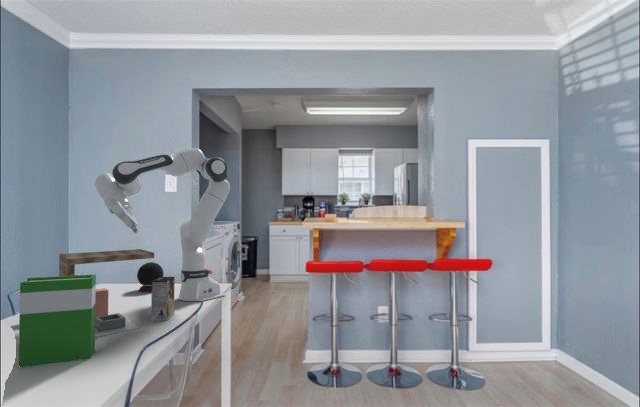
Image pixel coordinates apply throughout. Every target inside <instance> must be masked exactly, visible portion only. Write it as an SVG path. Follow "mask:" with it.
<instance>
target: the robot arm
mask: <svg viewBox="0 0 640 407" xmlns="http://www.w3.org/2000/svg"><path fill="white" fill-rule="evenodd" d="M156 170H157V171H158V170H161V171H165V172H166V174H168V175H169V176H171V177H174V178H175V177H181V176H184V175H186V174H188V173H192V172H194V171H195V172H197V173H198V175H199V176H200V177H201V178H202V179H203V180H205V181H208V186H207V188H206V189H205V191H204V193H203V194H202V196H201V197H200V199H199V200H198V203H196V206H195V209H194V212H193V214H192V216H191V219H187V220H185V221H184V222H183V223H182V224H181V225H180V228H179V231H180V246H181V253H182V255H181V256H182V258H181V260H182V261H181V262H182V268H181V271H180V282H181V283H180V284H181V286H180V291H179V295H178V297H177V298H178V300H180V301H186V302H203V301H204V302H205V301H208V300H212V299H216V298H217V299H218V298H222V297H225V295H226V294H225V292H223V291H221V287H220V286H221V285H220V283H219V282H218V281H216V280H215V279H214V278H213V277H211V276H209V275H212V274H213V270H211V269H207V268H206V259H207V258H206V257H207V256H206V254H207V253H206V251H205V246H204V245H205V243H204V242H205V241H206V240H207V239H208V238H209V237H210V235H211V231H212V228H213V225H214V223H215V220H216V218H217V216H218V214H219V212H220V210H221V208H222V207H223V205H224V203H225V202H226V200H227V199H228V195H229V193H230V191H231V184H230V182H229V181H228V180H227V178H228V177H227V174H228V173H227V172H228V165H227V162H226V161H225V160H224V159H223V158H221V157H218V156H215V157H211V158H207V157H206V156H205V154H204V153H203V151H202V150H201V149H200V148H197V147H196V148H190V149H184V150H181V151H178V152H175V153H171V154H158V155H154V156H150V157H146V158H143V159H142V158H141V159H137V160H131V161H130V160H129V161H128V160H127V161H125V160H124V161H121V162H118V163H117V164H115V166H114V167H113V169H112V173H109V172H103V173H102V174H99V175H98V176H97V177H96V178H95V181H94V185H95V188H96V191H97V193H98V194H99V196H100V198H101V199H102V200H103V202H104V205H105V207H106V208H107V210H108V212H109V213H110V214H113V215H115V217H117V218H118V219H119V220H120V221H122V222H123V223H124V224H125V226H126V227H127V228H130V229H131V230H132V231H133V233H134V234H137V233H139V230H138V225H139V223H138V220H137V219H136V217H135V215H134V213H133V208H132V207H131V205H130V204H131V203H130V201H129V199H128V198H127V197H130V196H133V195H135V194H137V193H139V192H140V190H141V189H142V183H141V178H140V176H141V175H142V174H147V173H150V172H153V171H156Z"/></svg>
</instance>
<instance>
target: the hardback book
mask: <svg viewBox="0 0 640 407" xmlns="http://www.w3.org/2000/svg"><path fill="white" fill-rule="evenodd" d="M96 285H97V274H81V275H80V274H79V275H75V276H59V275H58V276H40V277H39V276H38V277H27V280H26V281H20V283H19V328H18V330H19V331H18V334H19V335H18V367H19V366H20V367H21V368H28V367H34V366H43V365H51V364H57V363H59V364H60V363H68V362H76V361H83V360H91V359H92V357H93V354H94V352H95V350H96V349H95V343H96V342H95V339H96V338H95V296H96V289H97V288H96Z"/></svg>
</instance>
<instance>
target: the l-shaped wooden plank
mask: <svg viewBox="0 0 640 407" xmlns="http://www.w3.org/2000/svg"><path fill="white" fill-rule="evenodd" d="M58 258H59V259H58V260H59V261H58V276H76V275H75V270H76V269H75V267H76V265H83V264H84V265H85V264H95V263H96V264H97V263H109V262H123V261H133V260H135V261H136V260H147V259H154V258H155V252H152V251H149V250H146V249H141V248H138V249H137V248H136V249H122V250H121V249H120V250H118V249H117V250H106V251H105V250H104V251H92V252H91V251H90V252H73V253H59V256H58Z"/></svg>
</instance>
